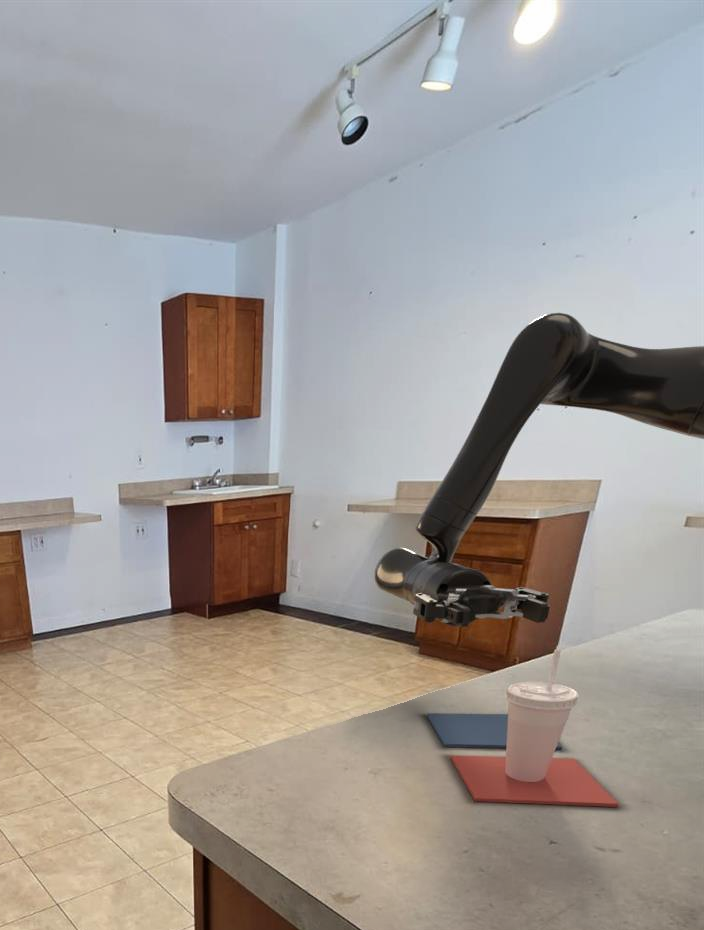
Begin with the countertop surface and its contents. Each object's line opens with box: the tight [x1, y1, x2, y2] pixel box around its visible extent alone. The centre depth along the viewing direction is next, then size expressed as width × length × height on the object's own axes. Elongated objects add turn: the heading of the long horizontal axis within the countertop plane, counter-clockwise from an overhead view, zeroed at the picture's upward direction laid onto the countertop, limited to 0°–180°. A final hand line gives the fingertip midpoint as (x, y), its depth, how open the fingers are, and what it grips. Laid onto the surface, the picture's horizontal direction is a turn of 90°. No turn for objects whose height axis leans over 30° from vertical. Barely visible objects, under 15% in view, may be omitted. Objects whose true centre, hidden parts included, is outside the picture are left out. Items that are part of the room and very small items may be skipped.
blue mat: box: [426, 712, 563, 750], centre depth 82 cm, size 13×11×1 cm
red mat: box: [450, 754, 619, 808], centre depth 69 cm, size 13×11×1 cm
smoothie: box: [505, 648, 580, 782], centre depth 67 cm, size 6×6×14 cm
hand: (505, 616), depth 73 cm, fingers open, 8 cm apart
